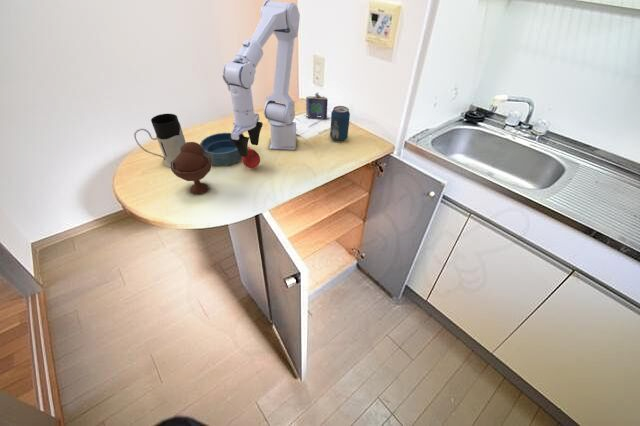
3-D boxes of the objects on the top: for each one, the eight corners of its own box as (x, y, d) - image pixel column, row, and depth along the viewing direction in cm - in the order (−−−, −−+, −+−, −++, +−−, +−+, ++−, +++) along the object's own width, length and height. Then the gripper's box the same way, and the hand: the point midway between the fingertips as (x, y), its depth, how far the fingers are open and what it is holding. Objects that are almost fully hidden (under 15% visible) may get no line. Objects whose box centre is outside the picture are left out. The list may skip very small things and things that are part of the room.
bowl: (250, 145, 109) (248, 133, 106) (242, 167, 98) (239, 154, 95) (210, 144, 109) (207, 132, 105) (197, 166, 98) (193, 153, 94)
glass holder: (196, 161, 100) (183, 119, 90) (153, 176, 93) (134, 132, 83) (186, 151, 104) (173, 110, 94) (144, 164, 97) (125, 122, 87)
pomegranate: (263, 164, 100) (260, 143, 94) (258, 174, 95) (255, 152, 90) (246, 163, 100) (243, 142, 95) (241, 172, 96) (237, 151, 90)
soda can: (346, 134, 118) (349, 105, 110) (348, 143, 113) (351, 113, 105) (329, 134, 118) (331, 105, 110) (330, 142, 112) (332, 112, 104)
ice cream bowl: (184, 179, 92) (170, 135, 82) (220, 178, 93) (210, 135, 83) (175, 200, 84) (157, 155, 74) (214, 199, 85) (202, 154, 75)
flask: (305, 118, 128) (305, 93, 121) (306, 115, 131) (306, 91, 124) (326, 119, 128) (327, 95, 121) (327, 117, 130) (328, 92, 123)
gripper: (242, 97, 90) (248, 137, 99) (217, 116, 79) (226, 159, 88) (263, 100, 89) (267, 141, 98) (241, 119, 78) (247, 163, 87)
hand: (249, 150), depth 93 cm, fingers open, 7 cm apart
